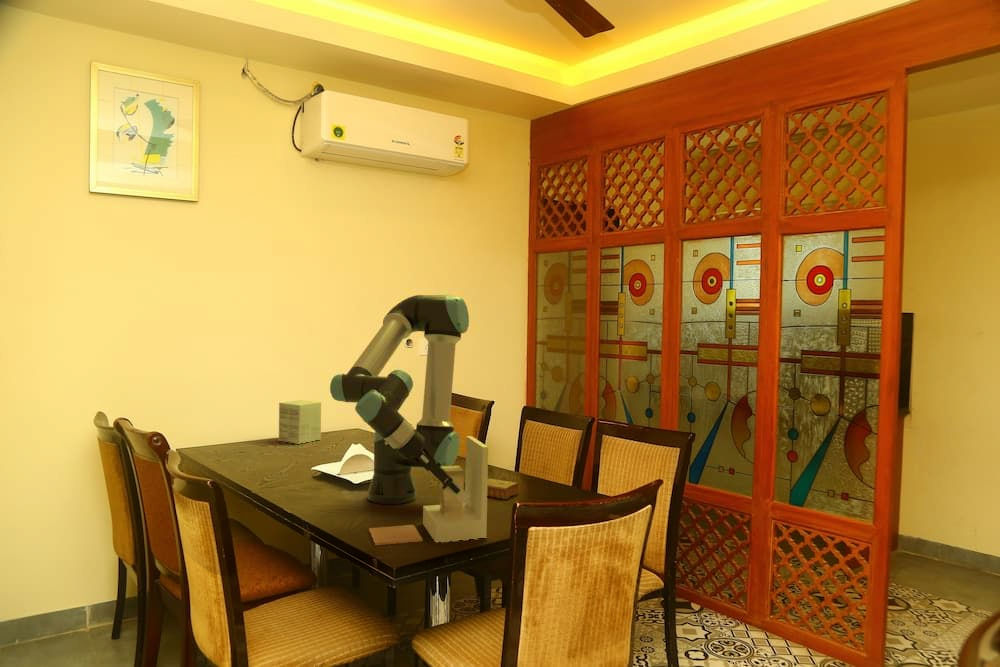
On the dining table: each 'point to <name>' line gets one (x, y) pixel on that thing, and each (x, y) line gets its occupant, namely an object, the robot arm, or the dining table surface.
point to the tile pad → (395, 535)
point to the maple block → (447, 499)
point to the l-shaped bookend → (474, 506)
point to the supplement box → (299, 421)
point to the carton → (501, 488)
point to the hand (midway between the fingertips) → (459, 492)
